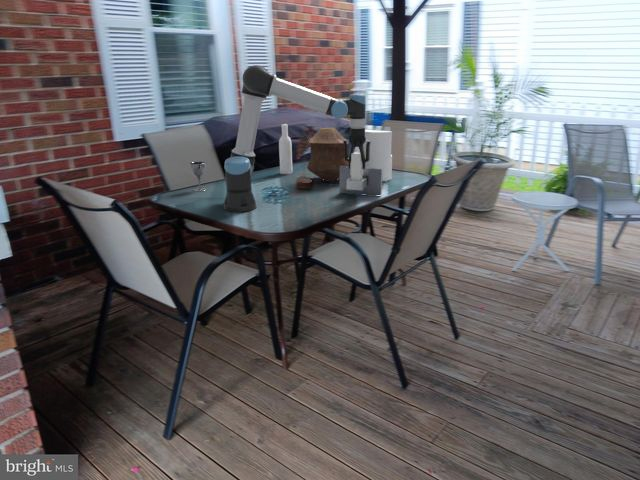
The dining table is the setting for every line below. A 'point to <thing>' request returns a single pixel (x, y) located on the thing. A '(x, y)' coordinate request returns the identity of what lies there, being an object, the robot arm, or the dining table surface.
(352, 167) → the rail post
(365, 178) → the grey block
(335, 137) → the pottery vessel
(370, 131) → the cylinder
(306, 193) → the dining table surface
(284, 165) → the bottle
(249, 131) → the robot arm
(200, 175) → the wine glass
